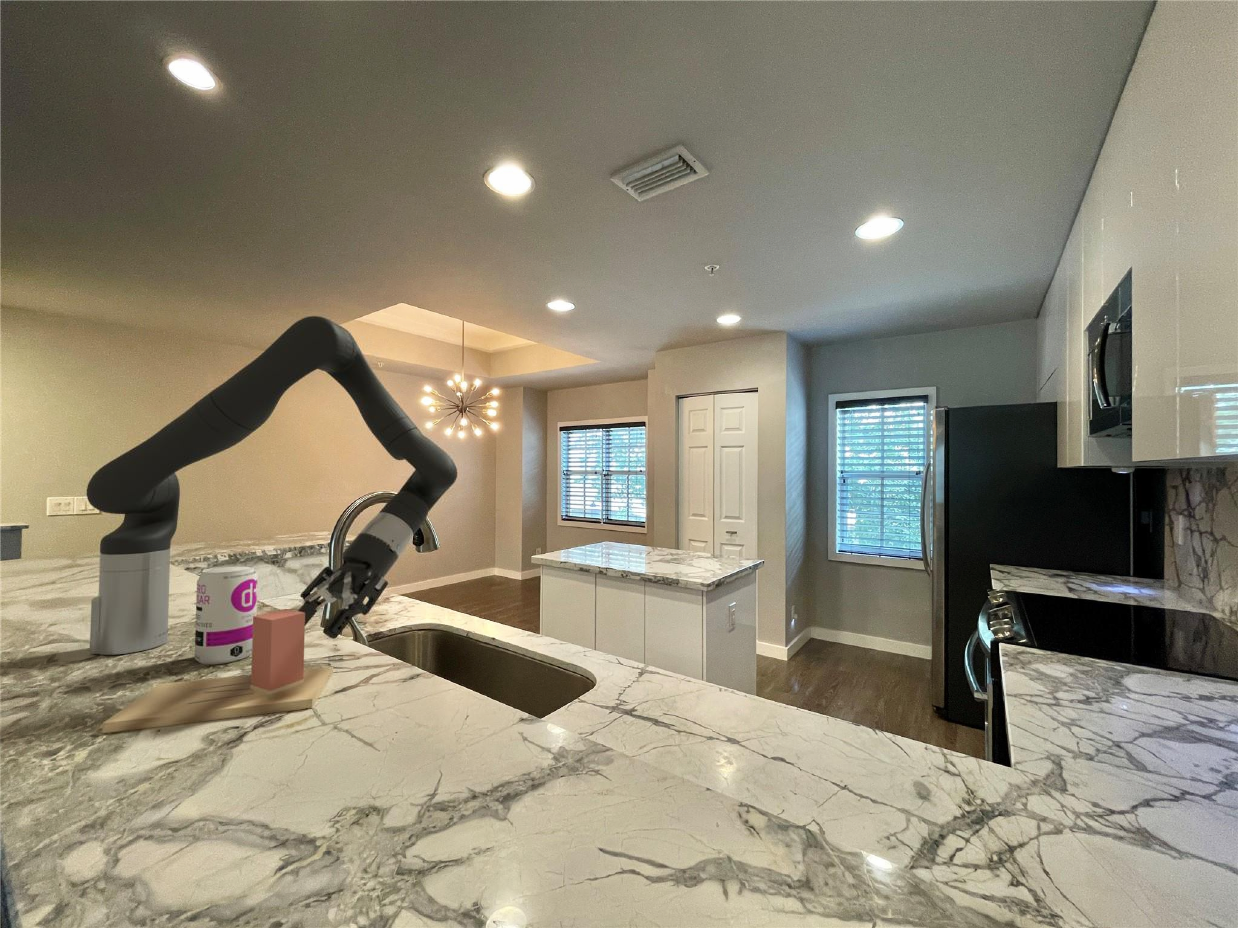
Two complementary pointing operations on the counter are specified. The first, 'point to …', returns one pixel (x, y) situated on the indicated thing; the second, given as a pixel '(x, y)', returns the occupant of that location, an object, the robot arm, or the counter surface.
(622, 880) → the counter surface
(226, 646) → the supplement can
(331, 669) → the oak board
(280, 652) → the block
